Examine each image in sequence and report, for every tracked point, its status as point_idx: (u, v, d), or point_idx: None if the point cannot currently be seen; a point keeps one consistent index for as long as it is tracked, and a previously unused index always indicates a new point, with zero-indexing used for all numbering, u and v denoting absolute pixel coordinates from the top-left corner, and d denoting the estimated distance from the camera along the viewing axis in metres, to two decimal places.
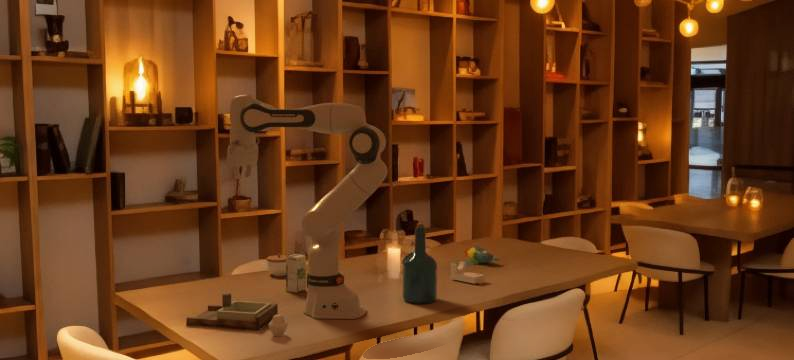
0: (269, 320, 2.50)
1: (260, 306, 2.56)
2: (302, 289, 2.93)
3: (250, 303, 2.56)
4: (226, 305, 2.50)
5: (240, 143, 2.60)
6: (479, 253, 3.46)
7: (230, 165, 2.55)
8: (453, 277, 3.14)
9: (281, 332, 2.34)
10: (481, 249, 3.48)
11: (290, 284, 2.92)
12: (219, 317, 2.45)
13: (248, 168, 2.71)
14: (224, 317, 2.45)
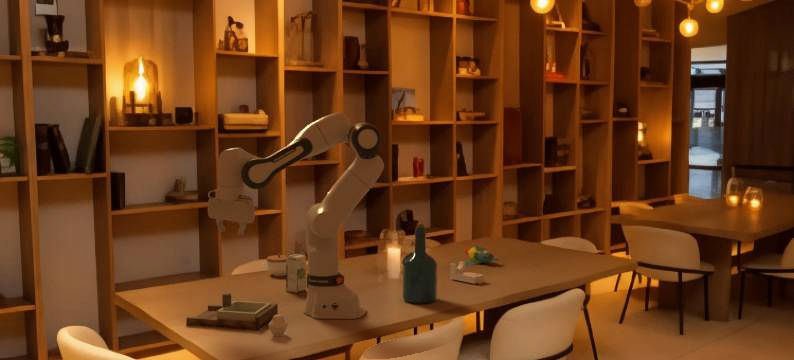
0: (269, 320, 2.50)
1: (260, 306, 2.56)
2: (302, 289, 2.93)
3: (250, 303, 2.56)
4: (226, 305, 2.50)
5: None
6: (480, 253, 3.47)
7: (250, 221, 2.49)
8: (453, 277, 3.14)
9: (281, 332, 2.34)
10: (482, 249, 3.49)
11: (290, 284, 2.92)
12: (219, 317, 2.45)
13: (220, 223, 2.58)
14: (224, 317, 2.45)
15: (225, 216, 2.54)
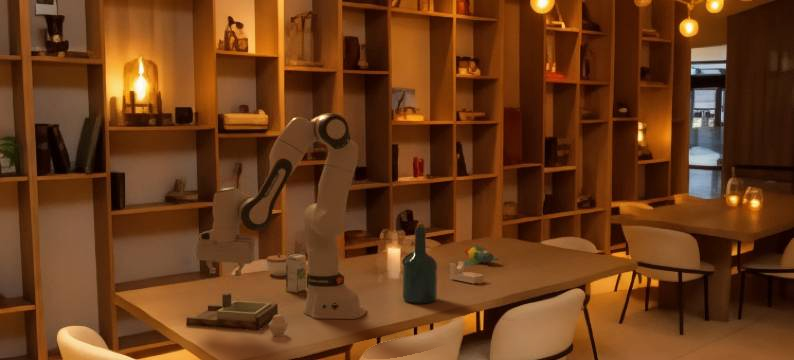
0: (269, 320, 2.50)
1: (260, 306, 2.56)
2: (302, 289, 2.93)
3: (250, 303, 2.56)
4: (226, 305, 2.50)
5: None
6: (480, 253, 3.47)
7: (251, 261, 2.48)
8: (452, 277, 3.14)
9: (281, 332, 2.34)
10: (481, 249, 3.49)
11: (290, 284, 2.92)
12: (219, 317, 2.45)
13: (210, 264, 2.51)
14: (224, 317, 2.45)
15: (221, 257, 2.48)
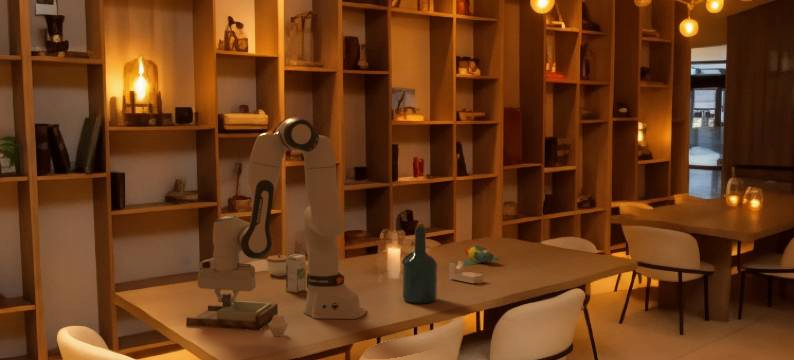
0: (269, 320, 2.50)
1: (260, 306, 2.56)
2: (302, 289, 2.93)
3: (250, 303, 2.56)
4: (226, 305, 2.50)
5: None
6: (479, 252, 3.48)
7: (253, 289, 2.49)
8: (451, 277, 3.14)
9: (281, 332, 2.34)
10: (481, 248, 3.50)
11: (290, 284, 2.92)
12: (219, 317, 2.45)
13: (218, 293, 2.52)
14: (224, 317, 2.45)
15: (222, 285, 2.49)
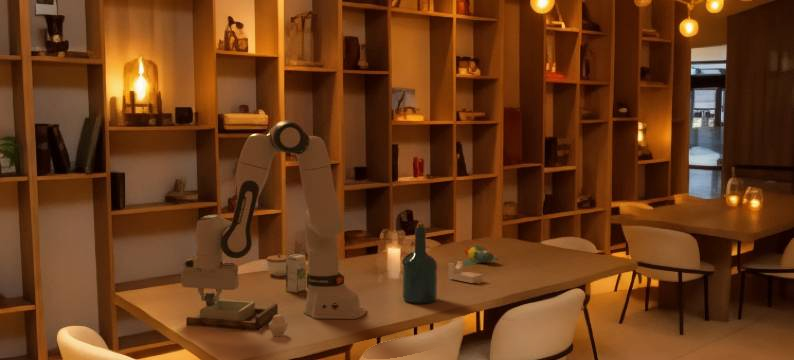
0: (269, 320, 2.50)
1: (244, 305, 2.57)
2: (302, 289, 2.93)
3: (234, 302, 2.58)
4: (209, 304, 2.51)
5: None
6: (479, 253, 3.48)
7: (236, 287, 2.50)
8: (451, 277, 3.15)
9: (281, 332, 2.34)
10: (481, 249, 3.50)
11: (290, 284, 2.92)
12: (202, 316, 2.46)
13: (202, 291, 2.53)
14: (207, 315, 2.46)
15: (205, 284, 2.50)
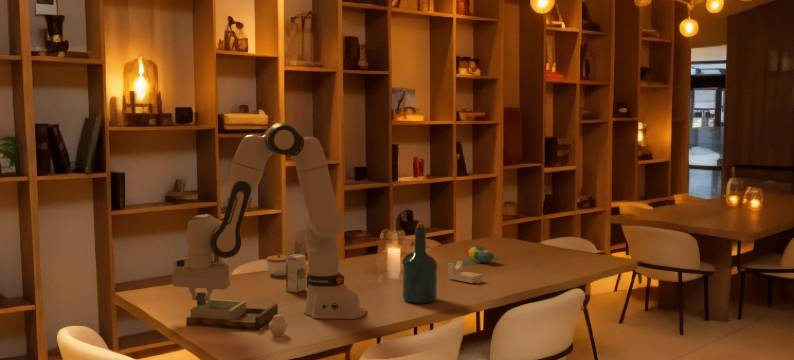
0: (269, 320, 2.50)
1: (235, 304, 2.58)
2: (302, 289, 2.93)
3: (225, 302, 2.58)
4: (200, 304, 2.52)
5: None
6: (480, 252, 3.48)
7: (227, 287, 2.51)
8: (450, 277, 3.15)
9: (281, 332, 2.34)
10: (482, 248, 3.50)
11: (290, 284, 2.92)
12: (193, 315, 2.47)
13: (193, 291, 2.54)
14: (198, 315, 2.46)
15: (196, 283, 2.51)
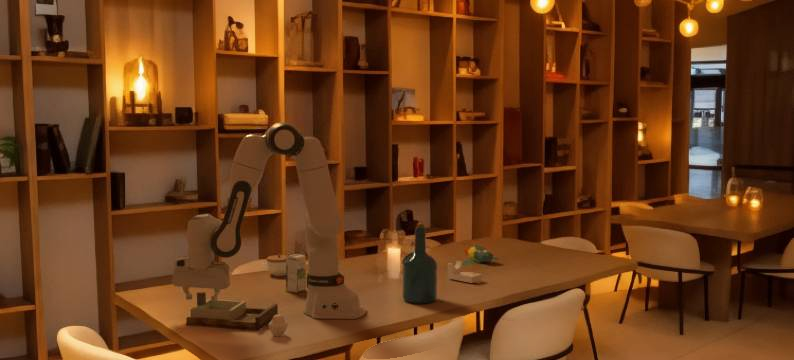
0: (269, 320, 2.50)
1: (235, 304, 2.58)
2: (302, 289, 2.93)
3: (225, 302, 2.58)
4: (200, 304, 2.52)
5: None
6: (479, 252, 3.49)
7: (227, 287, 2.51)
8: (450, 276, 3.15)
9: (281, 332, 2.34)
10: (481, 248, 3.51)
11: (290, 284, 2.92)
12: (193, 315, 2.47)
13: (187, 290, 2.54)
14: (198, 315, 2.46)
15: (197, 283, 2.51)
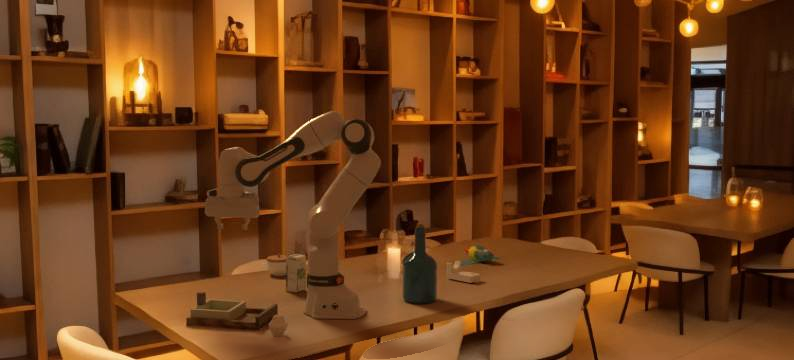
0: (269, 320, 2.50)
1: (235, 304, 2.58)
2: (302, 289, 2.93)
3: (225, 302, 2.58)
4: (200, 304, 2.52)
5: None
6: (480, 252, 3.50)
7: (257, 216, 2.63)
8: (449, 276, 3.15)
9: (281, 332, 2.34)
10: (482, 248, 3.52)
11: (290, 284, 2.92)
12: (193, 315, 2.47)
13: (218, 220, 2.67)
14: (198, 315, 2.46)
15: (228, 213, 2.64)
